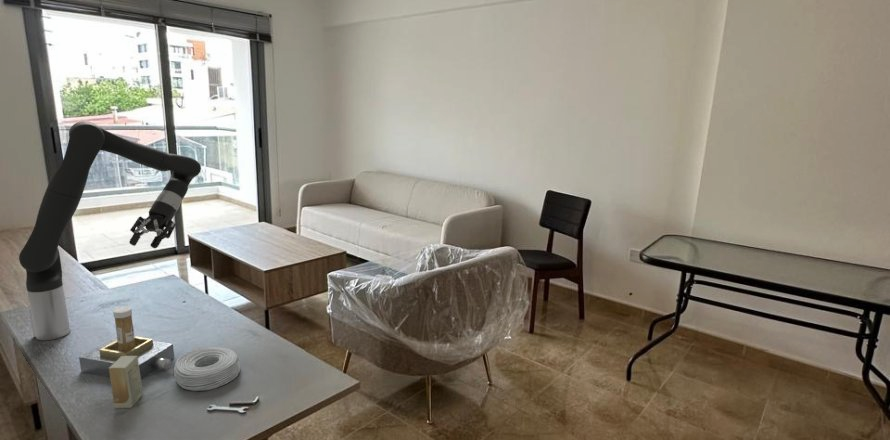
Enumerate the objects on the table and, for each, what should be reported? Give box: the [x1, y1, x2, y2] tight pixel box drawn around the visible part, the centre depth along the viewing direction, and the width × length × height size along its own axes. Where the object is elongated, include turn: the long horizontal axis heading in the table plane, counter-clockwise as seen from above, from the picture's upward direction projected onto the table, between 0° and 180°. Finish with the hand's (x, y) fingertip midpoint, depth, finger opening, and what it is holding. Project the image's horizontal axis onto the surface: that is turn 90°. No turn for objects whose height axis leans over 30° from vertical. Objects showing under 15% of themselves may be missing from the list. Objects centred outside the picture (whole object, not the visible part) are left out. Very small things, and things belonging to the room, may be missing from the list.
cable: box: [172, 346, 241, 392], centre depth 142 cm, size 18×18×6 cm
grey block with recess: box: [78, 335, 175, 381], centre depth 145 cm, size 24×14×7 cm, turn 78°
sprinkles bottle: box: [112, 306, 136, 353], centre depth 144 cm, size 5×5×13 cm
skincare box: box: [109, 356, 144, 409], centre depth 128 cm, size 6×4×12 cm
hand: (142, 245), depth 160 cm, fingers open, 8 cm apart
